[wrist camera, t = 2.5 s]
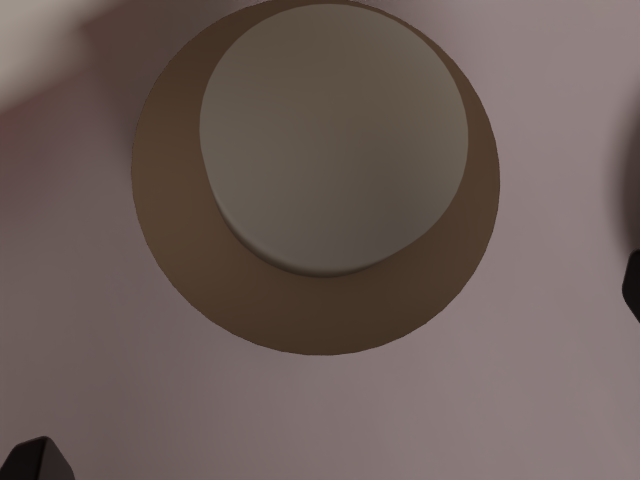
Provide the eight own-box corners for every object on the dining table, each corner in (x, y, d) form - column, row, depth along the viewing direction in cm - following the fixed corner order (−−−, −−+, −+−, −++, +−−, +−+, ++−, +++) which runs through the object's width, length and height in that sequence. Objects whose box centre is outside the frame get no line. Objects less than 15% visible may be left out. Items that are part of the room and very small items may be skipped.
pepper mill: (331, 369, 19) (482, 426, 6) (176, 314, 18) (24, 261, 6) (381, 220, 20) (598, 18, 7) (235, 165, 19) (206, -138, 7)
